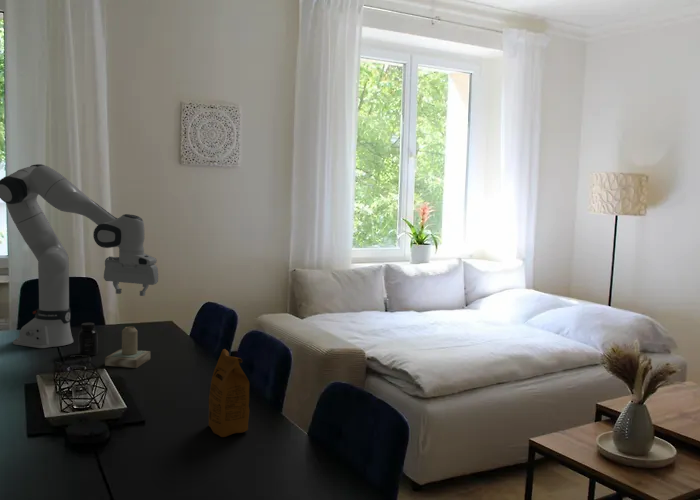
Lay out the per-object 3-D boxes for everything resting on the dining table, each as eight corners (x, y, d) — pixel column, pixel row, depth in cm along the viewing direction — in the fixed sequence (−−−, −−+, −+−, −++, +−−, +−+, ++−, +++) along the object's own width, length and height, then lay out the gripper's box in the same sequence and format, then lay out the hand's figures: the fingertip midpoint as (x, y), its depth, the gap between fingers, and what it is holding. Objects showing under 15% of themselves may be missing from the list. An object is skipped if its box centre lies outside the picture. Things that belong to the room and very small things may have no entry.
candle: (132, 355, 240) (132, 329, 239) (118, 354, 241) (119, 327, 240) (140, 351, 246) (140, 325, 245) (126, 350, 247) (126, 324, 246)
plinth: (105, 365, 238) (105, 356, 238) (120, 356, 250) (120, 348, 250) (136, 367, 237) (136, 359, 236) (150, 359, 249) (150, 350, 248)
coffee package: (236, 419, 192) (238, 345, 189) (252, 434, 181) (254, 356, 178) (203, 424, 187) (205, 349, 184) (217, 440, 176) (219, 360, 174)
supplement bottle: (100, 352, 254) (101, 322, 253) (92, 357, 248) (92, 326, 246) (84, 351, 255) (84, 321, 254) (75, 356, 248) (74, 325, 247)
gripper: (100, 256, 242) (100, 293, 244) (153, 261, 240) (152, 298, 241) (109, 255, 249) (108, 290, 250) (160, 259, 246) (159, 295, 248)
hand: (130, 294), depth 246 cm, fingers open, 8 cm apart
